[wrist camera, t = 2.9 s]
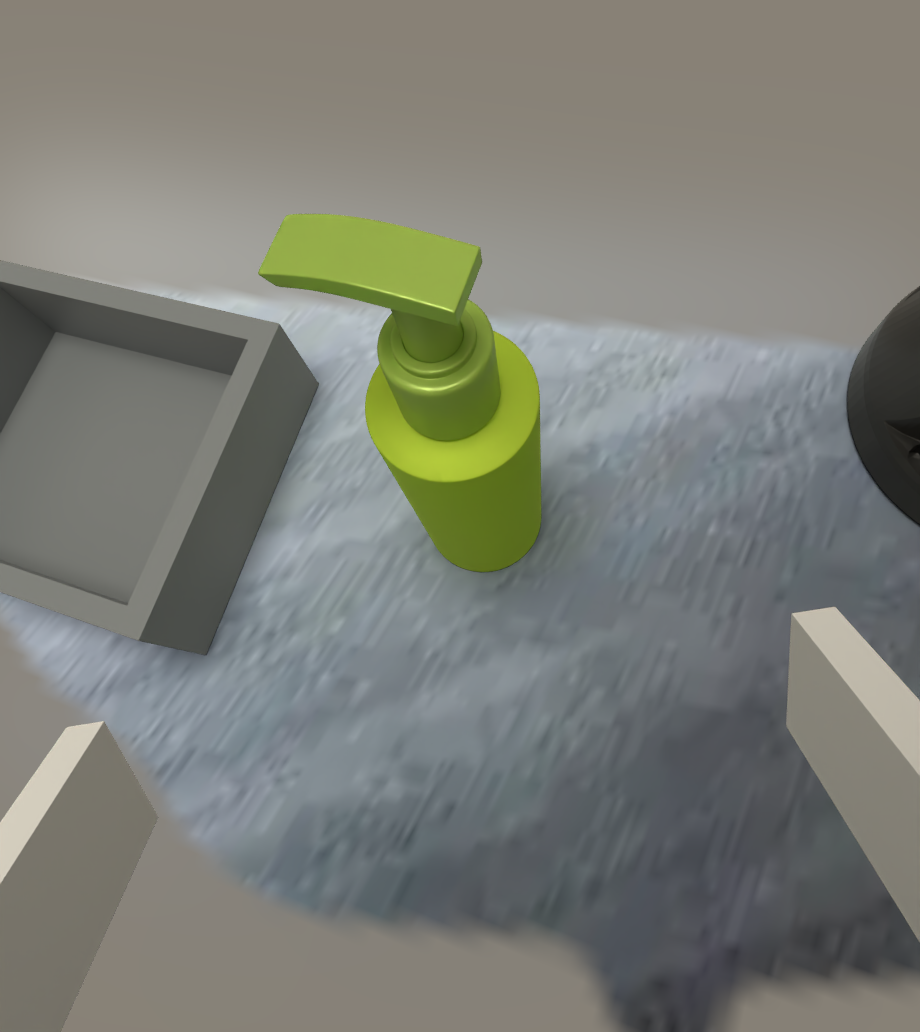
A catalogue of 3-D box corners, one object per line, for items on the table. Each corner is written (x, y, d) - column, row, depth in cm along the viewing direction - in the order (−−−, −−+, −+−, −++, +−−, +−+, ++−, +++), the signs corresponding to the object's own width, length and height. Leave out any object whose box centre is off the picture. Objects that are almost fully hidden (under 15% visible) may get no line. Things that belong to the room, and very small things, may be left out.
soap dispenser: (431, 446, 36) (308, 138, 17) (555, 481, 35) (569, 185, 16) (394, 547, 35) (213, 330, 16) (521, 587, 33) (491, 400, 14)
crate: (318, 383, 38) (279, 323, 32) (205, 655, 34) (138, 640, 28) (59, 320, 42) (-17, 256, 36) (-70, 558, 38) (-179, 529, 32)
